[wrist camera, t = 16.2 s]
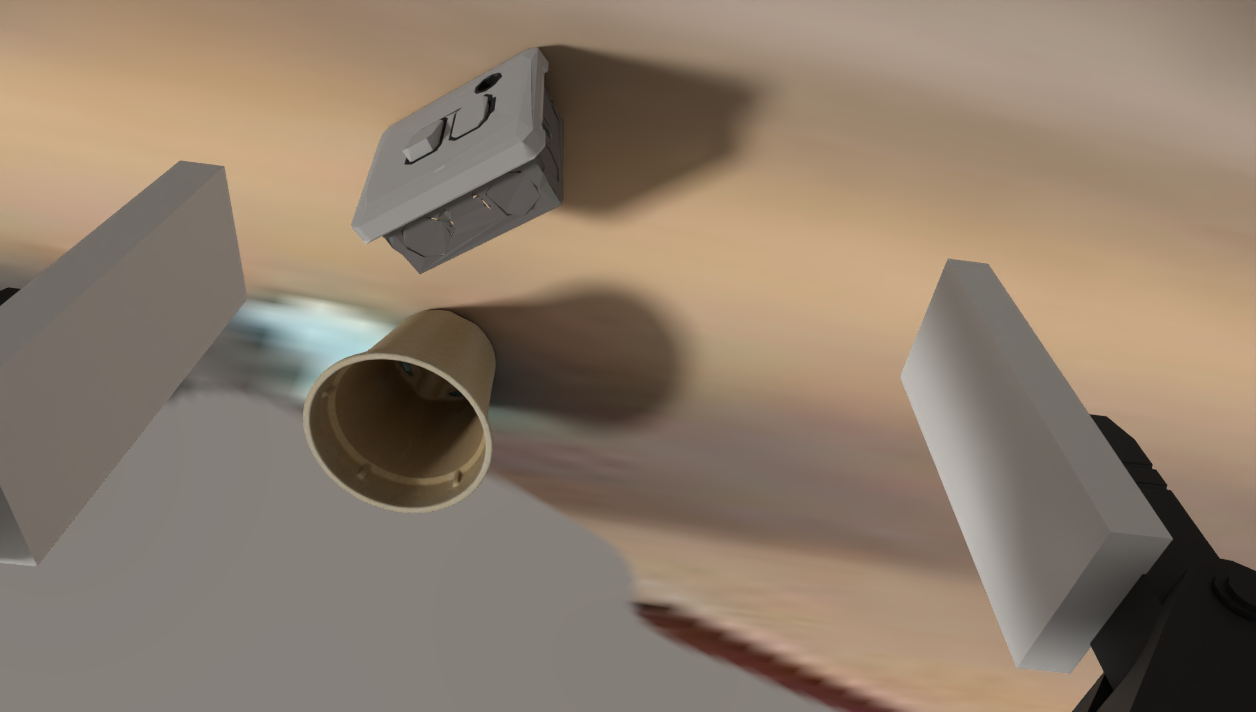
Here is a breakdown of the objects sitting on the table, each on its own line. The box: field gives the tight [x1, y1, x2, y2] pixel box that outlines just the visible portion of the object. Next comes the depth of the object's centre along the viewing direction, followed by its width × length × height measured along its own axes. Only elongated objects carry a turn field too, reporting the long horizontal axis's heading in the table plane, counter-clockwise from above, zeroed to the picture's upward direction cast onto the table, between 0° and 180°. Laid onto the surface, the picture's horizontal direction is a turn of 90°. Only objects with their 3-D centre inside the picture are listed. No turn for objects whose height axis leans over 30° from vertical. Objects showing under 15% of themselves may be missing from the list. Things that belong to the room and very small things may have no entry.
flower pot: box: [303, 310, 496, 513], centre depth 44 cm, size 9×9×9 cm
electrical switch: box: [351, 48, 563, 274], centre depth 38 cm, size 9×5×9 cm, turn 117°
